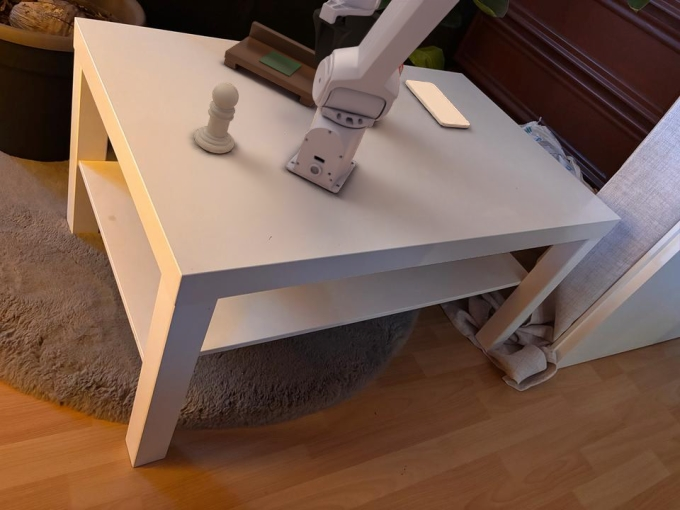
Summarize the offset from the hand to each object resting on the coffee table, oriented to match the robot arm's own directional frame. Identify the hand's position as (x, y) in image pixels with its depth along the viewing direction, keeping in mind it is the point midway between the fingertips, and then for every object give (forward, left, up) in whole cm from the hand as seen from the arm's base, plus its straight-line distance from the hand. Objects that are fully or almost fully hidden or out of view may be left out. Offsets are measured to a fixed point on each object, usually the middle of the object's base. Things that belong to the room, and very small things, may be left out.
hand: (333, 59), depth 85 cm
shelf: (+6, +9, -10) cm, 15 cm away
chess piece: (-20, +8, -10) cm, 23 cm away
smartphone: (+25, -17, -10) cm, 32 cm away
